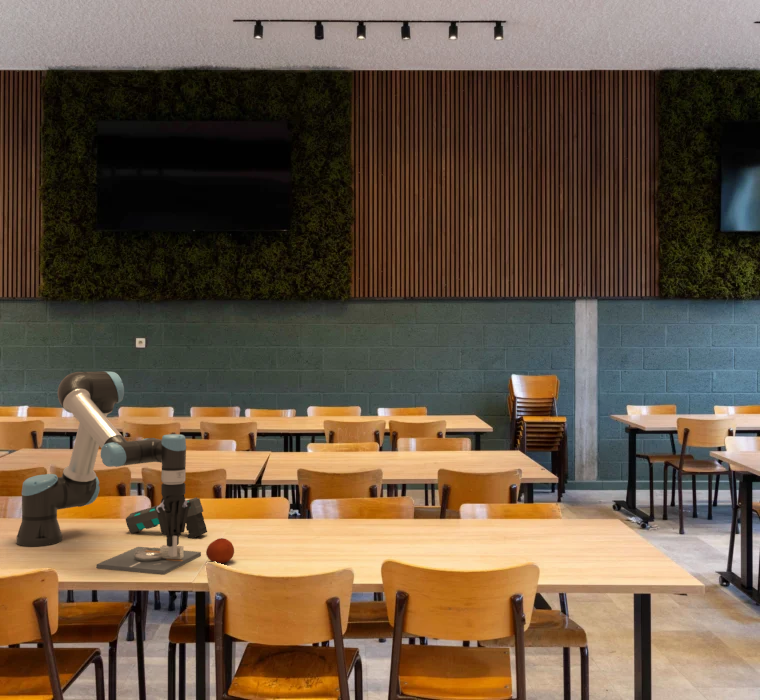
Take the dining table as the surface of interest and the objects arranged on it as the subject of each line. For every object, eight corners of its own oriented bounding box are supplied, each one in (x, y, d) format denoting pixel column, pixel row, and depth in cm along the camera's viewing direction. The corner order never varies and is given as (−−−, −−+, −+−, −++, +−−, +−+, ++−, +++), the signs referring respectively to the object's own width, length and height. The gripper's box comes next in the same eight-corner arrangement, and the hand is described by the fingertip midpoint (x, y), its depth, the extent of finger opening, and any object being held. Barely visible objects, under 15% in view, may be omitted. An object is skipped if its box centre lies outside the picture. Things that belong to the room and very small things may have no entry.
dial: (128, 560, 263) (128, 548, 263) (143, 553, 273) (143, 541, 273) (175, 563, 260) (175, 551, 260) (188, 555, 270) (188, 543, 270)
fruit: (224, 557, 273) (224, 533, 273) (238, 563, 266) (238, 538, 266) (201, 561, 267) (201, 537, 267) (214, 567, 261) (214, 542, 260)
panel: (96, 568, 258) (96, 563, 258) (138, 550, 282) (138, 546, 282) (163, 574, 252) (163, 570, 252) (200, 555, 275) (200, 551, 275)
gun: (202, 535, 298) (191, 495, 299) (133, 555, 304) (122, 516, 306) (210, 531, 304) (199, 492, 305) (142, 550, 311) (132, 512, 312)
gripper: (164, 486, 256) (163, 561, 255) (196, 481, 266) (196, 554, 266) (149, 483, 260) (148, 557, 260) (182, 479, 270) (181, 550, 270)
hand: (172, 555), depth 263 cm, fingers closed
